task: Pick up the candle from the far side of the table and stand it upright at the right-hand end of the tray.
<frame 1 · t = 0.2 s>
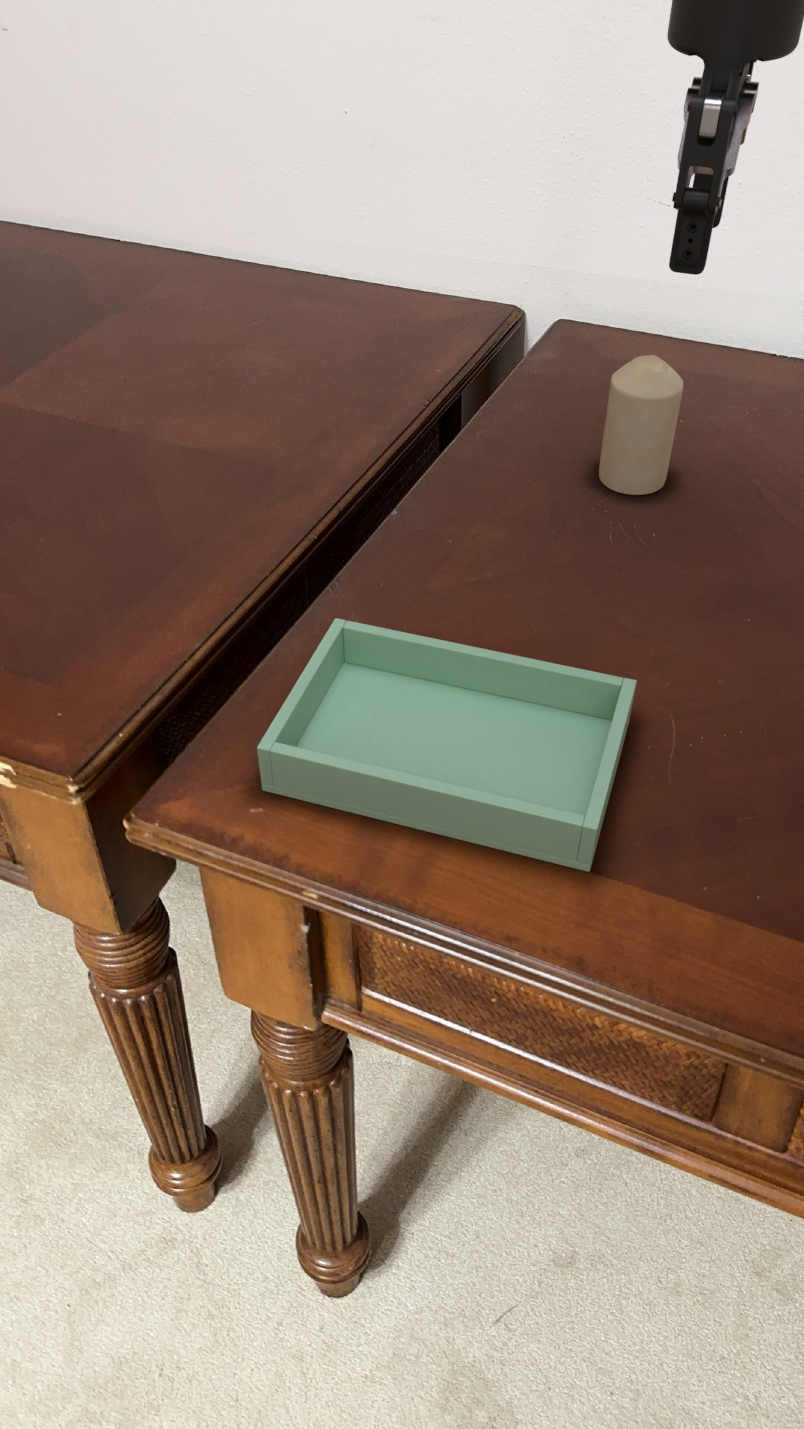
hand: (694, 247, 73), 21 cm above the table, tool pointing down, fingers open, 8 cm apart
tray: (451, 755, 67), on the table
candle: (631, 480, 91), on the table
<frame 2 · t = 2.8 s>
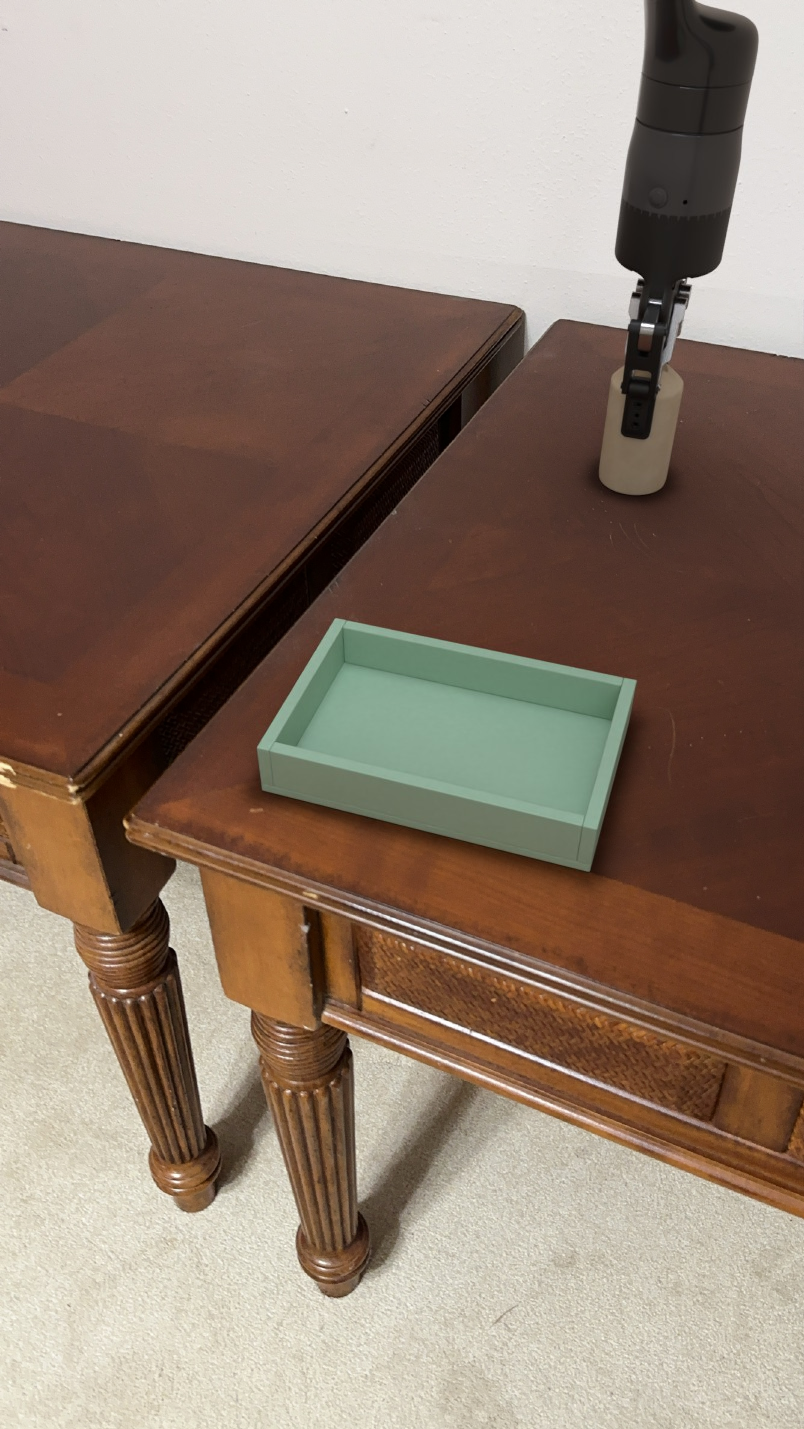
hand: (641, 416, 87), 6 cm above the table, tool pointing down, fingers closed on candle, 5 cm apart
candle: (631, 480, 91), on the table, touching gripper
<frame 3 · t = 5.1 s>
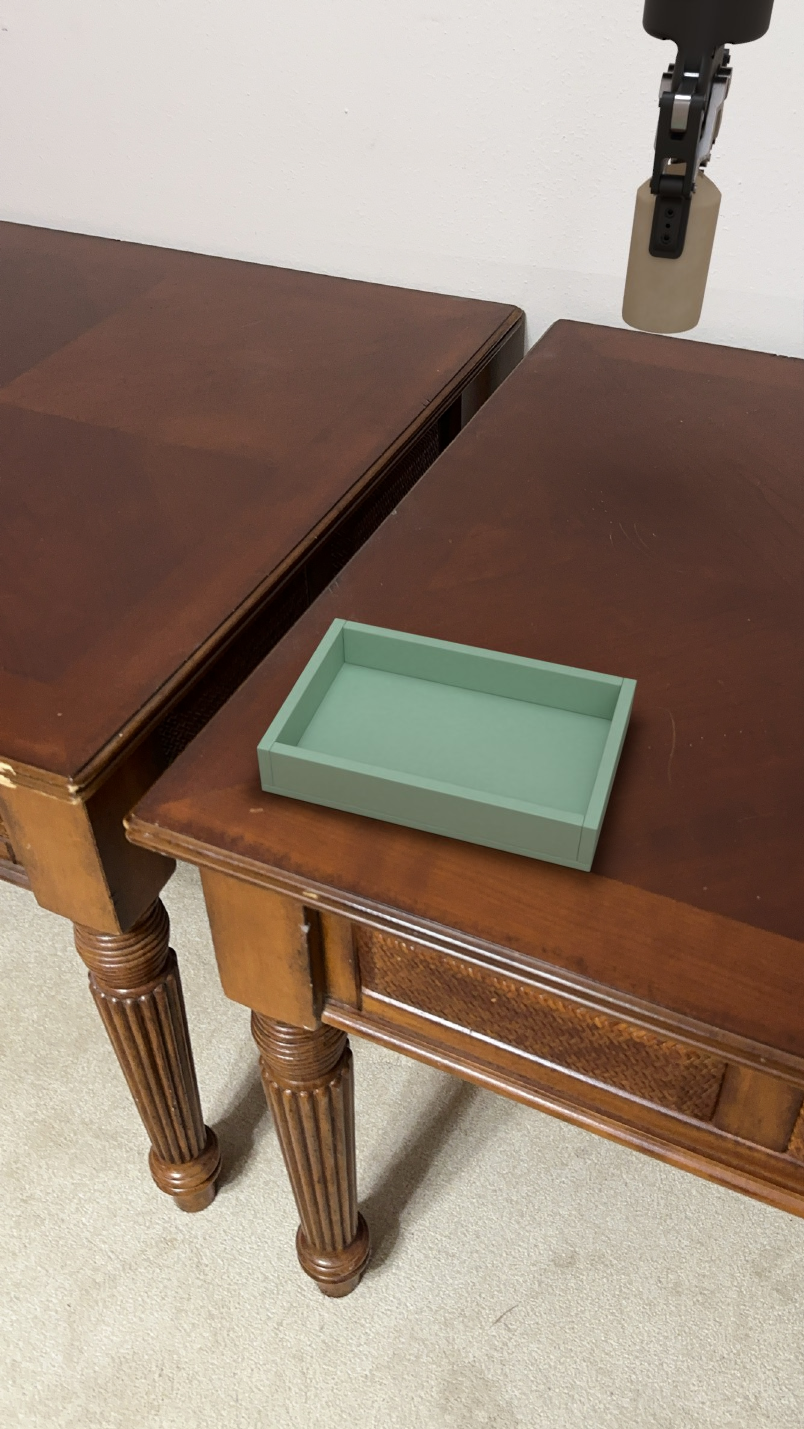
hand: (672, 239, 75), 20 cm above the table, tool pointing down, fingers closed on candle, 5 cm apart
candle: (659, 321, 79), point 14 cm above the table, touching gripper
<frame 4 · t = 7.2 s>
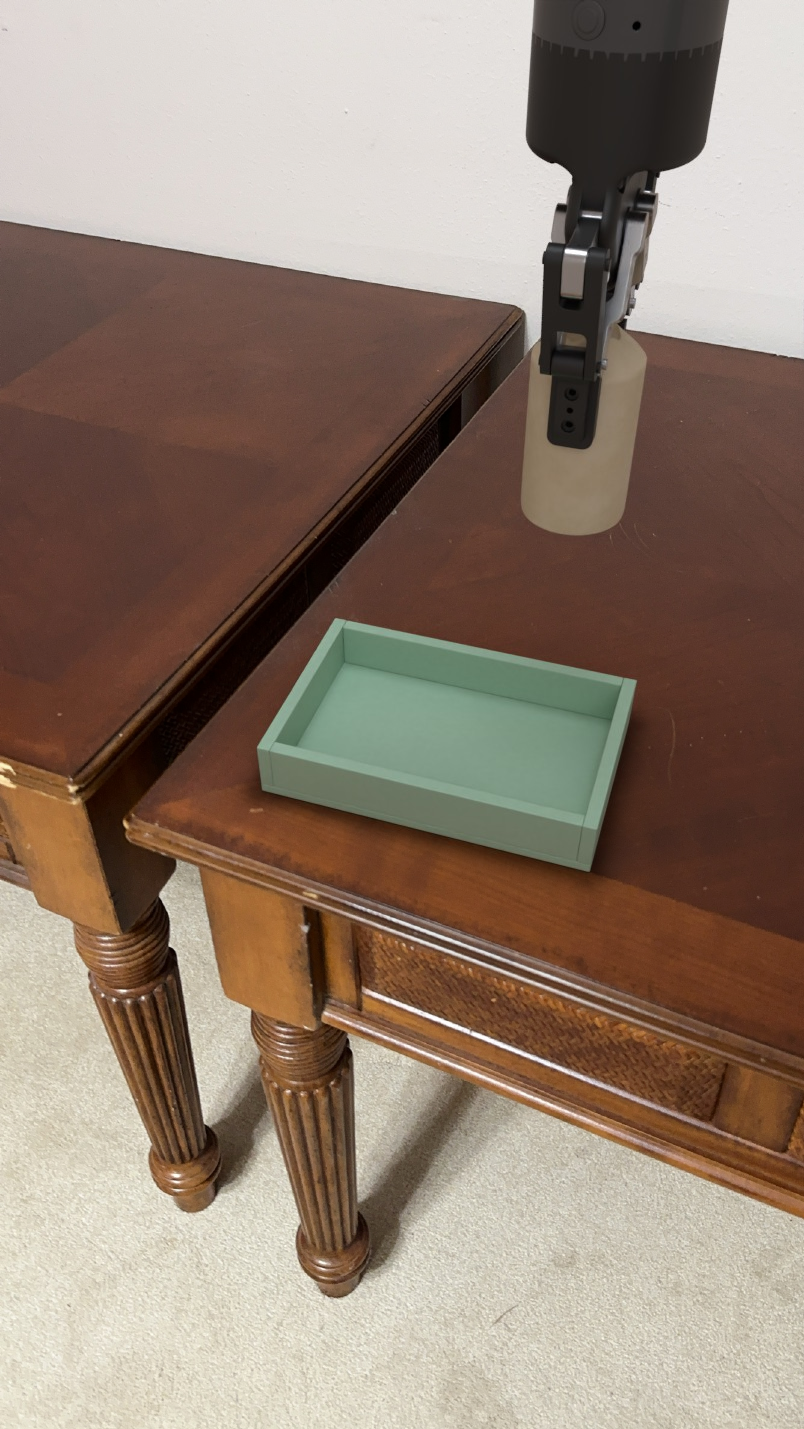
hand: (583, 413, 55), 21 cm above the table, tool pointing down, fingers closed on candle, 5 cm apart
candle: (571, 511, 59), point 15 cm above the table, touching gripper
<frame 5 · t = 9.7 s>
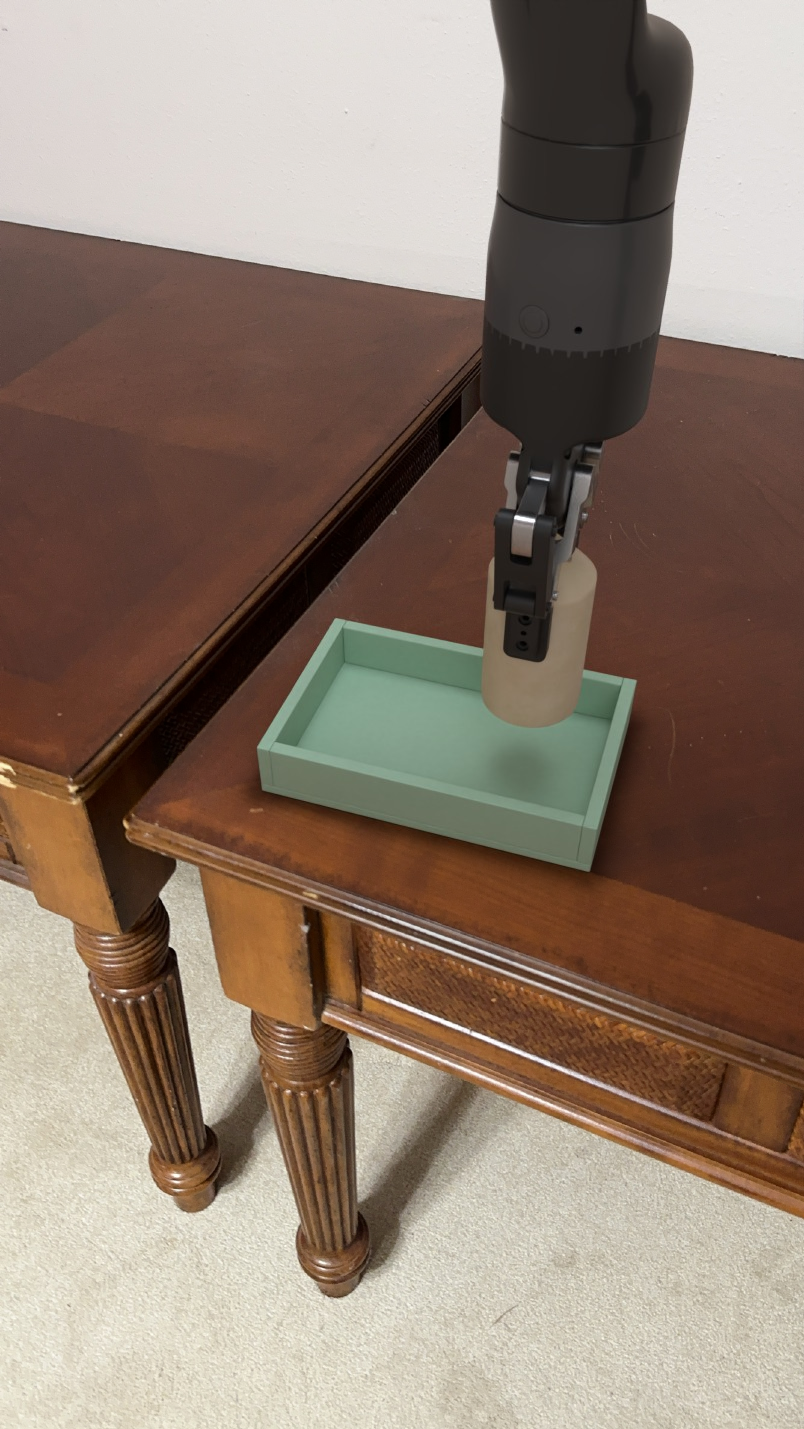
hand: (539, 618, 58), 12 cm above the table, tool pointing down, fingers closed on candle, 5 cm apart
candle: (529, 698, 62), point 6 cm above the table, touching gripper
when the fingers open (6 cm above the table, at t = 11.6 s): candle stays where it is, resting on tray.
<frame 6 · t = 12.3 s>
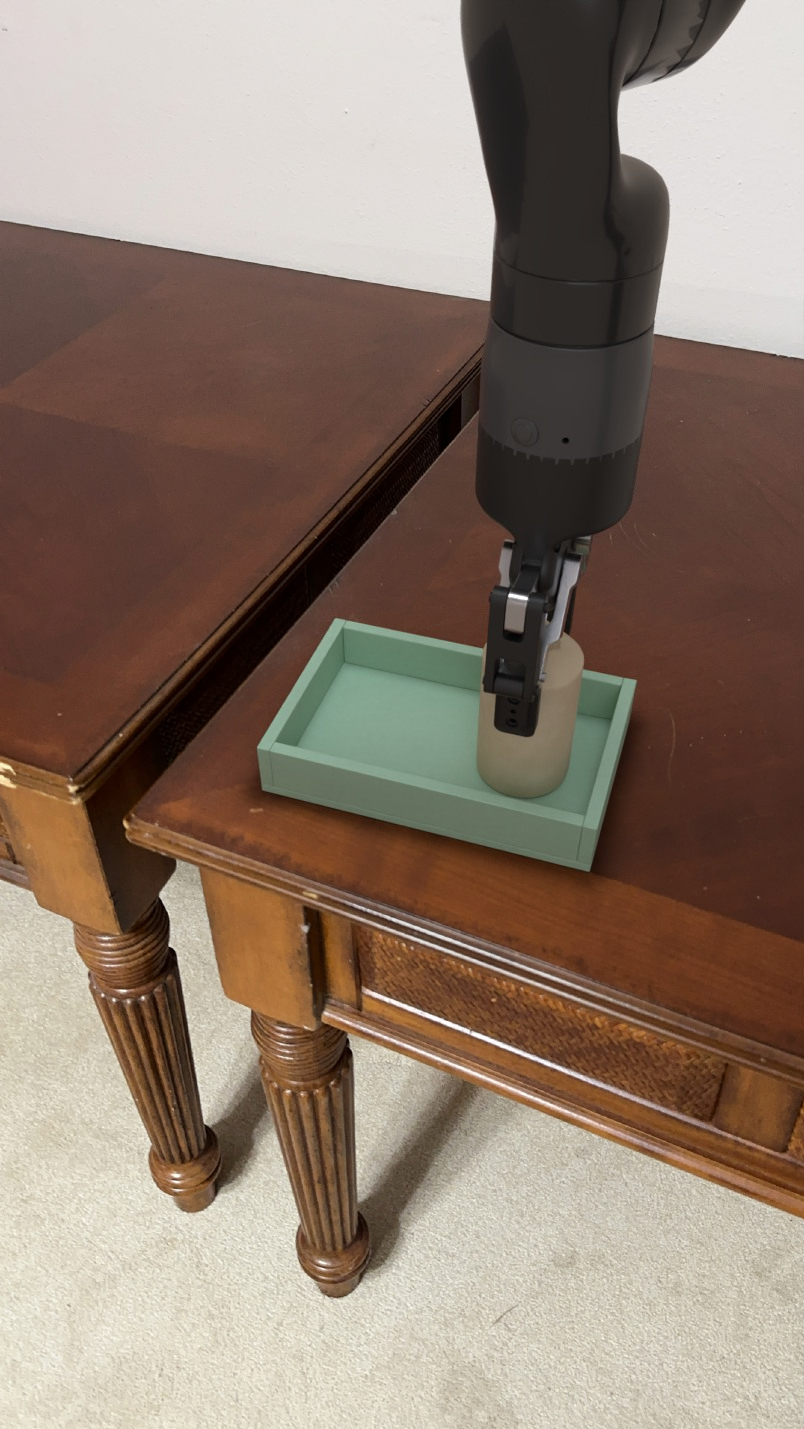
hand: (533, 679, 61), 7 cm above the table, tool pointing down, fingers open, 8 cm apart
candle: (521, 767, 66), resting on tray
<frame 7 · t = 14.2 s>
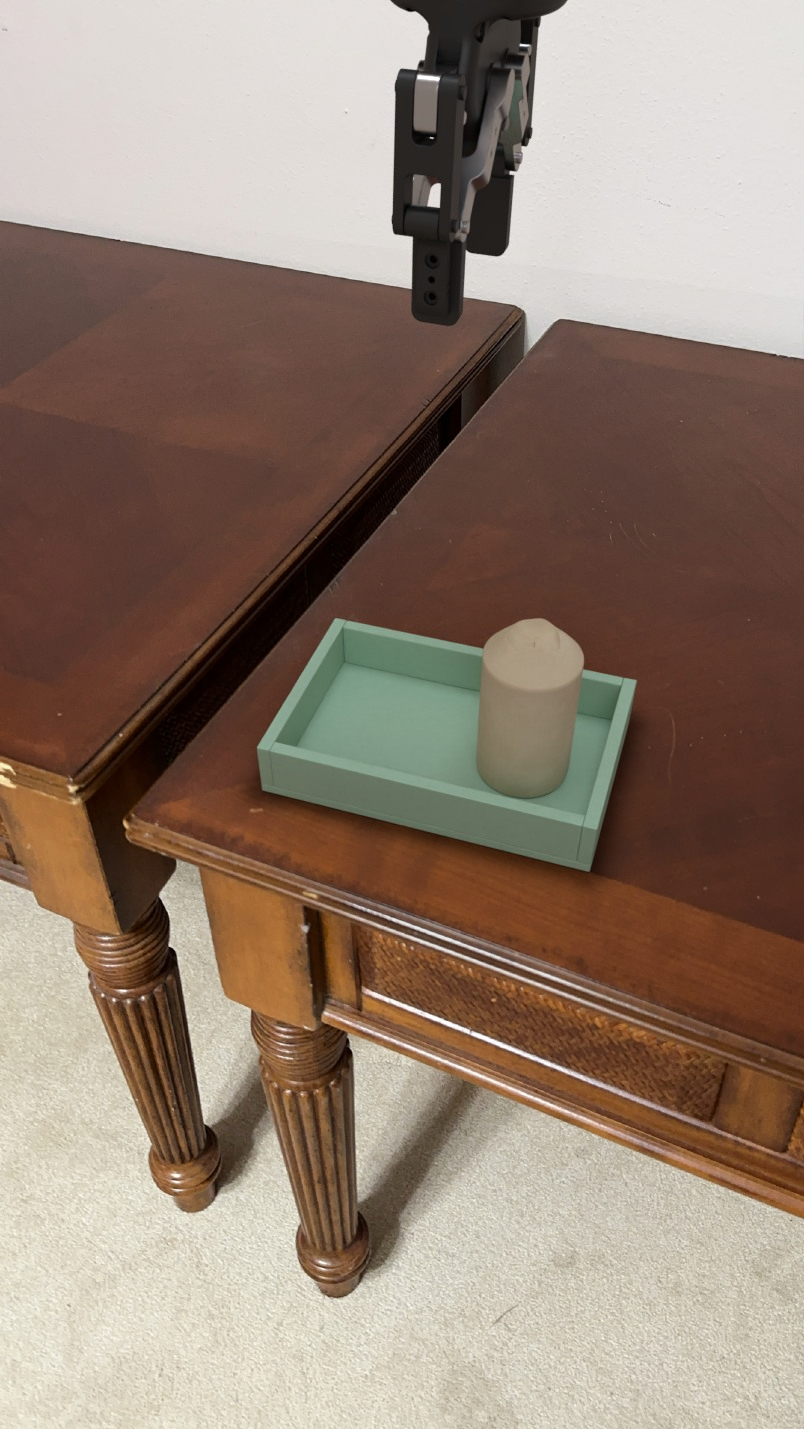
hand: (462, 284, 53), 27 cm above the table, tool pointing down, fingers open, 8 cm apart
nothing on the table moved.
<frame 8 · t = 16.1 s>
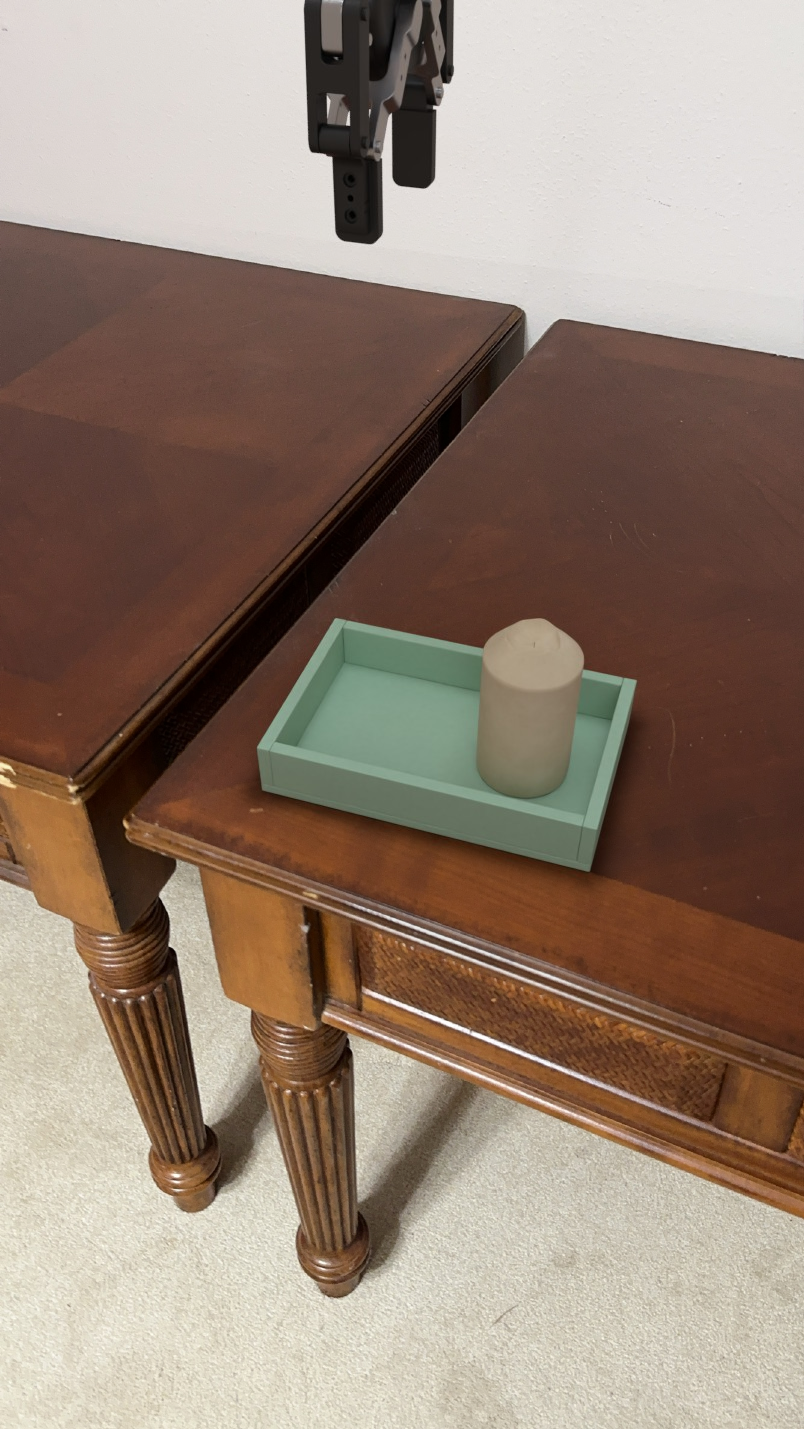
hand: (388, 211, 56), 28 cm above the table, tool pointing down, fingers open, 8 cm apart
nothing on the table moved.
at the end: candle inside the target area in the tray (0.2 cm from its centre), point 0.4 cm above the tray's base; candle tilted 0°; the gripper is holding nothing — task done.
